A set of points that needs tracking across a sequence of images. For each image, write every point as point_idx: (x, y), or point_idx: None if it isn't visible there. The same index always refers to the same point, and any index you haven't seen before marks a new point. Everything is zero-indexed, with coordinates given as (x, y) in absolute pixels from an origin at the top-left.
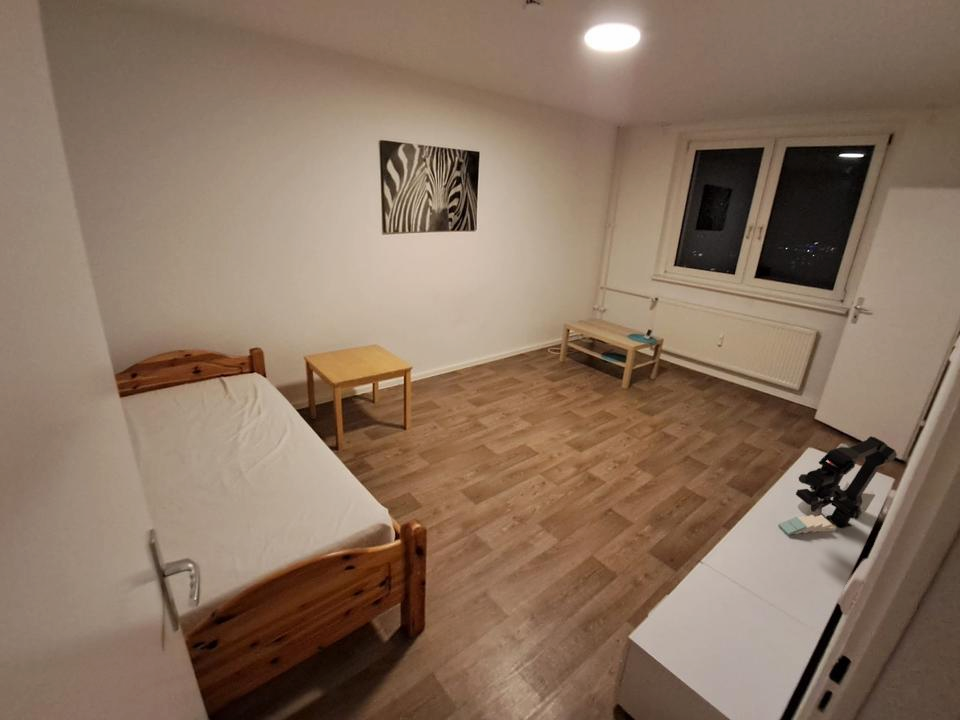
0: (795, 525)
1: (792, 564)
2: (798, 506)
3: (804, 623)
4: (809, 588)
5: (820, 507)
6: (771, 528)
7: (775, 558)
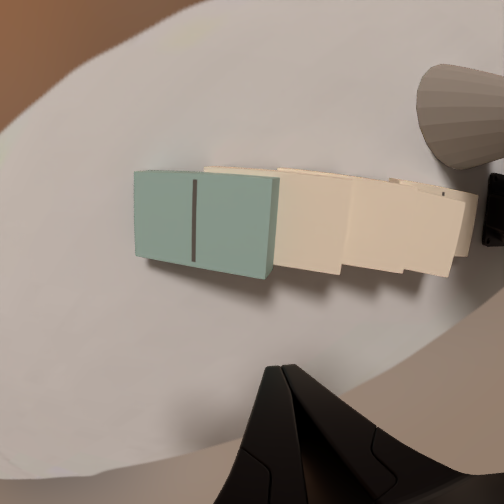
0: (206, 235)
1: (58, 380)
2: (429, 73)
3: (16, 466)
4: (67, 442)
5: (309, 500)
6: (91, 182)
7: (9, 344)
